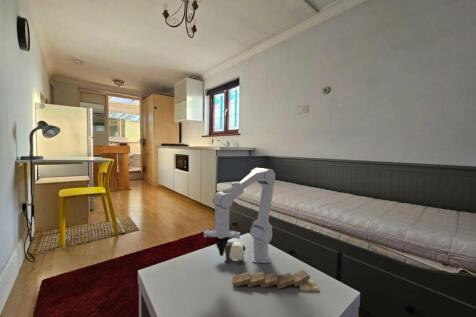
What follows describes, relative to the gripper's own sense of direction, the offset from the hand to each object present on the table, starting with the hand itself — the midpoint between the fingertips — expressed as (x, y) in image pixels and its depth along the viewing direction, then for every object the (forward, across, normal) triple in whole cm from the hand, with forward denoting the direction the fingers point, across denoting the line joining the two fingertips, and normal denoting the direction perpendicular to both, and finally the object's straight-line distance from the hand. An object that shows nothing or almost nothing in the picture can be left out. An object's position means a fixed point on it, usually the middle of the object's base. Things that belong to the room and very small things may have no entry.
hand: (221, 254), depth 81 cm
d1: (+9, +5, -3) cm, 11 cm away
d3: (+9, +16, -2) cm, 18 cm away
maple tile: (+10, +31, -3) cm, 32 cm away
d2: (+9, +11, -3) cm, 14 cm away
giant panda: (+10, +3, +13) cm, 17 cm away
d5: (+9, +28, -2) cm, 30 cm away
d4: (+9, +22, -3) cm, 24 cm away
